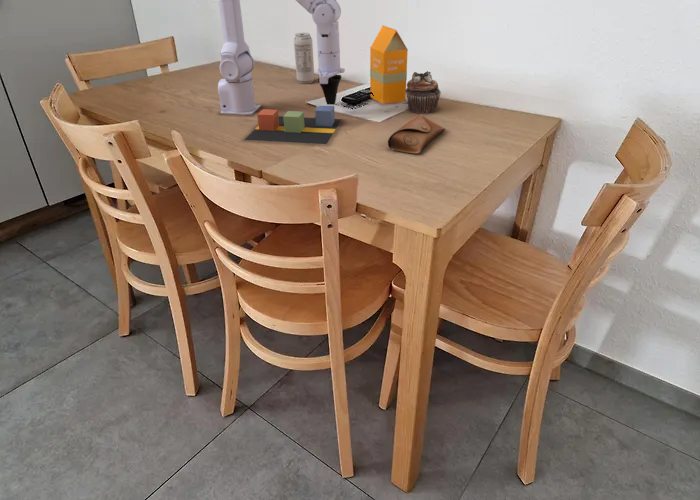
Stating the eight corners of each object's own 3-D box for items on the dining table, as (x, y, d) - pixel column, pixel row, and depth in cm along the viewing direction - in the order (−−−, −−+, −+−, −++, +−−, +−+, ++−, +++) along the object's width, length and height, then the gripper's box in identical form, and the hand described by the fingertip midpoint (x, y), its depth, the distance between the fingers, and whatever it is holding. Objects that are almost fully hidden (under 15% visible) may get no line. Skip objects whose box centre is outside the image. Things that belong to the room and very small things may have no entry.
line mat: (244, 140, 122) (244, 139, 122) (268, 117, 137) (267, 115, 137) (326, 145, 119) (326, 144, 119) (341, 120, 133) (341, 119, 133)
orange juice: (382, 104, 144) (383, 31, 133) (369, 97, 151) (369, 26, 139) (406, 101, 146) (409, 28, 135) (392, 93, 153) (394, 23, 142)
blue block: (315, 126, 129) (314, 110, 127) (319, 120, 133) (318, 105, 130) (331, 126, 128) (330, 111, 126) (334, 121, 132) (334, 105, 130)
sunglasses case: (421, 153, 112) (408, 126, 110) (396, 163, 116) (383, 138, 115) (447, 128, 125) (436, 104, 123) (423, 138, 130) (412, 115, 128)
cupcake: (411, 115, 135) (413, 78, 130) (401, 105, 143) (402, 69, 138) (444, 112, 137) (447, 75, 131) (432, 102, 145) (435, 67, 139)
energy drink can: (316, 79, 168) (314, 32, 160) (311, 84, 163) (308, 36, 155) (300, 78, 170) (296, 32, 161) (294, 83, 165) (290, 35, 156)
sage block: (284, 132, 126) (283, 116, 124) (289, 126, 129) (287, 110, 127) (300, 133, 125) (299, 116, 123) (304, 127, 129) (303, 111, 126)
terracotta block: (259, 130, 128) (257, 114, 125) (264, 124, 131) (262, 109, 129) (274, 130, 127) (272, 115, 125) (279, 125, 130) (277, 109, 128)
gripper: (337, 58, 120) (339, 112, 128) (349, 45, 132) (350, 96, 140) (310, 57, 122) (313, 111, 129) (323, 45, 133) (326, 95, 141)
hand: (330, 103), depth 134 cm, fingers closed
